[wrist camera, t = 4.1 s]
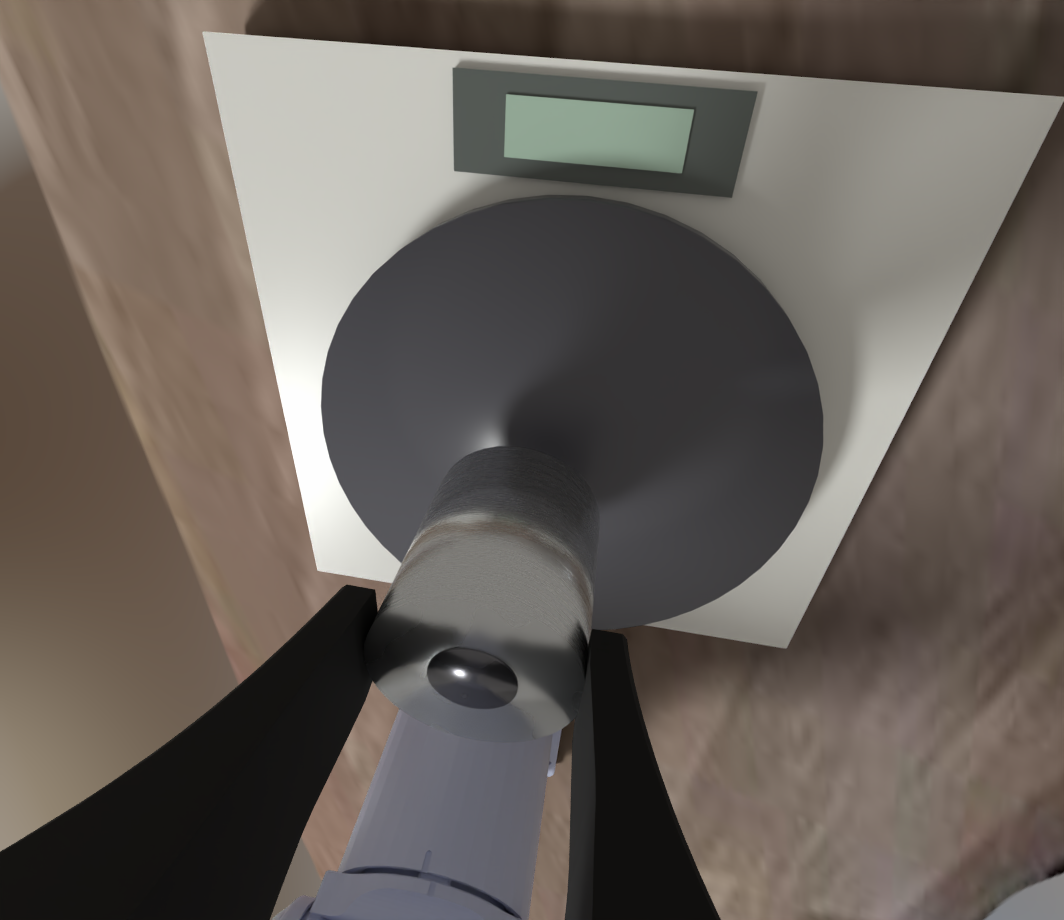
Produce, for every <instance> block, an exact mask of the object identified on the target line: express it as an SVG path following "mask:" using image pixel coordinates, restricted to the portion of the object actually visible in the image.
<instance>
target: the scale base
mask: <svg viewBox="0 0 1064 920" xmlns="http://www.w3.org/2000/svg"><path fill="white" fill-rule="evenodd" d="M202 32H203V31H202ZM203 37H204V42H205V46H206V51H207V56H208V60H209V65H210V70H211V74H212V79H213V84H214V88H215V93H216V98H217V102H218V107H219V112H220V116H221V121H222V126H223V130H224V135H225V140H226V145H227V149H228V154H229V159H230V163H231V168H232V173H233V177H234V182H235V187H236V191H237V196H238V201H239V205H240V210H241V215H242V219H243V224H244V229H245V233H246V238H247V243H248V247H249V252H250V257H251V261H252V266H253V271H254V275H255V280H256V285H257V290H258V294H259V299H260V304H261V308H262V313H263V318H264V322H265V327H266V332H267V336H268V341H269V346H270V350H271V355H272V360H273V364H274V369H275V374H276V378H277V383H278V388H279V392H280V397H281V402H282V406H283V411H284V416H285V420H286V425H287V430H288V435H289V439H290V444H291V449H292V453H293V458H294V463H295V467H296V472H297V477H298V481H299V486H300V491H301V495H302V500H303V505H304V509H305V514H306V519H307V523H308V528H309V533H310V537H311V542H312V547H313V551H314V556H315V561H316V565H317V570H318V571H323V572H329V573H335V574H341V575H347V576H353V577H359V578H365V579H371V580H377V581H383V582H389V583H393V581H394V578H395V576H396V574H397V572H398V570H399V568H400V566H401V564H402V563H401V562H399V561H398V560H397V559H396V558H395V557H394V556H393V555H392V554H391V553H390V552H389V551H388V550H387V549H386V548H384V547H383V546H382V544H381V543H380V542H379V541H378V540H377V539H376V538H375V536H374V535H373V534H372V533H371V532H370V531H369V530H368V528H367V527H366V526H365V525H364V523H363V522H362V520H361V519H360V517H359V516H358V514H357V513H356V512H355V510H354V509H353V507H352V506H351V504H350V502H349V500H348V499H347V497H346V495H345V493H344V491H343V489H342V487H341V486H340V484H339V481H338V479H337V476H336V474H335V471H334V469H333V466H332V463H331V461H330V458H329V454H328V450H327V446H326V442H325V437H324V433H323V424H322V414H321V391H322V377H323V372H324V367H325V362H326V358H327V353H328V349H329V347H330V344H331V342H332V339H333V336H334V334H335V331H336V328H337V326H338V323H339V322H340V320H341V318H342V316H343V315H344V313H345V311H346V310H347V308H348V306H349V304H350V303H351V301H352V299H353V297H354V296H355V295H356V294H357V293H358V291H359V290H360V289H361V288H362V286H363V285H364V284H365V283H366V282H367V280H368V279H369V278H370V277H371V275H372V274H373V273H374V272H375V271H376V270H377V269H379V268H380V267H381V266H382V265H383V264H384V263H385V262H386V261H388V260H389V259H390V258H391V257H392V256H393V255H394V254H396V253H397V252H398V251H399V250H400V249H402V248H403V247H404V246H406V245H407V244H409V243H410V242H411V241H413V240H415V239H416V238H418V237H419V236H421V235H422V234H424V233H426V232H427V231H429V230H430V229H432V228H433V227H435V226H437V225H438V224H440V223H442V222H444V221H447V220H449V219H451V218H454V217H456V216H458V215H460V214H463V213H465V212H467V211H469V210H472V209H475V208H479V207H482V206H486V205H490V204H493V203H497V202H501V201H504V200H508V199H515V198H524V197H532V196H541V195H580V196H592V197H598V198H604V199H610V200H616V201H622V202H628V203H631V204H634V205H637V206H640V207H643V208H646V209H649V210H652V211H655V212H659V213H662V214H665V215H667V216H669V217H671V218H673V219H675V220H677V221H679V222H681V223H683V224H685V225H688V226H690V227H692V228H694V229H696V230H698V231H700V232H702V233H703V234H705V235H706V236H708V237H709V238H710V239H712V240H713V241H715V242H716V243H718V244H719V245H721V246H722V247H723V248H725V249H726V250H728V251H729V252H731V253H732V254H734V255H735V256H736V257H737V258H738V259H739V260H740V261H741V262H742V263H743V264H744V265H745V266H746V267H747V268H748V269H750V270H751V271H752V272H753V273H754V274H755V275H756V276H757V277H758V278H759V279H760V280H761V281H762V282H763V284H764V285H765V286H766V287H767V289H768V290H769V291H770V293H771V294H772V295H773V297H774V298H775V299H776V300H777V302H778V303H779V304H780V306H781V307H782V308H783V310H784V311H785V313H786V314H787V316H788V318H789V319H790V321H791V323H792V325H793V327H794V328H795V330H796V332H797V334H798V336H799V338H800V339H801V341H802V343H803V345H804V347H805V349H806V350H807V353H808V356H809V358H810V361H811V364H812V367H813V370H814V373H815V376H816V379H817V382H818V386H819V392H820V398H821V404H822V410H823V450H822V456H821V462H820V467H819V473H818V477H817V480H816V483H815V486H814V488H813V491H812V494H811V497H810V500H809V503H808V505H807V506H806V508H805V510H804V512H803V514H802V516H801V518H800V520H799V521H798V523H797V525H796V527H795V528H794V530H793V531H792V532H791V534H790V535H789V537H788V538H787V539H786V541H785V542H784V543H783V545H782V546H781V547H780V549H779V550H778V551H777V552H776V553H775V554H774V555H773V556H772V557H771V558H770V559H769V560H768V561H767V562H766V563H765V564H764V565H763V566H762V567H761V568H760V569H759V570H758V571H757V572H755V573H754V574H753V575H752V576H750V577H749V578H748V579H747V580H745V581H744V582H743V583H742V584H740V585H739V586H737V587H736V588H734V589H732V590H731V591H729V592H728V593H726V594H724V595H723V596H721V597H719V598H718V599H716V600H714V601H712V602H710V603H708V604H706V605H703V606H701V607H699V608H697V609H695V610H693V611H690V612H687V613H684V614H681V615H679V616H676V617H673V618H670V619H667V620H663V621H658V622H654V623H650V624H646V625H647V626H653V627H659V628H665V629H671V630H677V631H683V632H689V633H695V634H701V635H707V636H713V637H719V638H725V639H731V640H737V641H743V642H749V643H755V644H761V645H767V646H773V647H779V648H785V649H787V647H788V645H789V643H790V641H791V639H792V637H793V635H794V633H795V631H796V629H797V627H798V625H799V623H800V621H801V619H802V617H803V615H804V613H805V611H806V609H807V607H808V605H809V603H810V601H811V599H812V597H813V595H814V593H815V591H816V589H817V587H818V585H819V583H820V582H821V580H822V578H823V576H824V574H825V572H826V570H827V568H828V566H829V564H830V562H831V560H832V558H833V556H834V554H835V552H836V550H837V548H838V546H839V544H840V542H841V540H842V538H843V536H844V534H845V532H846V530H847V528H848V526H849V524H850V522H851V520H852V518H853V516H854V514H855V512H856V510H857V508H858V506H859V504H860V503H861V501H862V499H863V497H864V495H865V493H866V491H867V489H868V487H869V485H870V483H871V481H872V479H873V477H874V475H875V473H876V471H877V469H878V467H879V465H880V463H881V461H882V459H883V457H884V455H885V453H886V451H887V449H888V447H889V445H890V443H891V441H892V439H893V437H894V435H895V433H896V431H897V429H898V427H899V425H900V424H901V422H902V420H903V418H904V416H905V414H906V412H907V410H908V408H909V406H910V404H911V402H912V400H913V398H914V396H915V394H916V392H917V390H918V388H919V386H920V384H921V382H922V380H923V378H924V376H925V374H926V372H927V370H928V368H929V366H930V364H931V362H932V360H933V358H934V356H935V354H936V352H937V350H938V348H939V346H940V345H941V343H942V341H943V339H944V337H945V335H946V333H947V331H948V329H949V327H950V325H951V323H952V321H953V319H954V317H955V315H956V313H957V311H958V309H959V307H960V305H961V303H962V301H963V299H964V297H965V295H966V293H967V291H968V289H969V287H970V285H971V283H972V281H973V279H974V277H975V275H976V273H977V271H978V269H979V267H980V266H981V264H982V262H983V260H984V258H985V256H986V254H987V252H988V250H989V248H990V246H991V244H992V242H993V240H994V238H995V236H996V234H997V232H998V230H999V228H1000V226H1001V224H1002V222H1003V220H1004V218H1005V216H1006V214H1007V212H1008V210H1009V208H1010V206H1011V204H1012V202H1013V200H1014V198H1015V196H1016V194H1017V192H1018V190H1019V188H1020V187H1021V185H1022V183H1023V181H1024V179H1025V177H1026V175H1027V173H1028V171H1029V169H1030V167H1031V165H1032V163H1033V161H1034V159H1035V157H1036V155H1037V153H1038V151H1039V149H1040V147H1041V145H1042V143H1043V141H1044V139H1045V137H1046V135H1047V133H1048V131H1049V129H1050V127H1051V125H1052V123H1053V121H1054V119H1055V117H1056V115H1057V113H1058V111H1059V109H1060V108H1061V106H1062V104H1063V102H1064V97H1060V96H1047V95H1034V94H1020V93H1007V92H994V91H981V90H968V89H954V88H941V87H928V86H915V85H902V84H888V83H875V82H862V81H849V80H836V79H823V78H809V77H796V76H783V75H770V74H757V73H743V72H730V71H717V70H704V69H691V68H677V67H664V66H651V65H638V64H625V63H612V62H598V61H585V60H572V59H559V58H546V57H532V56H519V55H506V54H493V53H480V52H466V51H453V50H440V49H427V48H414V47H400V46H387V45H374V44H361V43H348V42H335V41H321V40H308V39H295V38H282V37H269V36H255V35H242V34H229V33H216V32H203Z"/></svg>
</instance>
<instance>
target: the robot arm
mask: <svg viewBox="0 0 1064 920" xmlns="http://www.w3.org/2000/svg"><path fill="white" fill-rule="evenodd" d="M377 613H378V611H377V602H376V593H375V590H374V589H368V588H363V587H357V586H352V585H345V586H344V587H342V588H341V589H340V590H339V591H338V592H337V593H336V594H335V595H334V596H333V597H332V598H331V599H330V600H329V601H328V602H327V603H326V604H325V605H324V606H323V607H322V608H321V609H320V610H319V611H318V612H317V613H316V614H315V615H314V616H313V617H312V618H311V619H310V620H309V621H308V622H307V623H306V624H305V625H304V626H303V627H302V628H301V629H300V630H299V631H298V632H297V633H296V634H295V635H294V636H293V637H292V638H291V639H290V640H289V641H287V642H286V643H285V644H284V645H283V646H282V647H281V648H280V649H279V650H278V651H277V652H276V653H274V654H273V655H272V656H271V657H270V658H269V659H268V660H267V661H266V662H265V663H264V664H263V665H261V666H260V667H259V668H258V669H257V670H256V671H255V672H254V673H252V674H251V675H250V676H249V677H248V678H247V679H246V680H244V681H243V682H242V683H241V684H240V685H238V686H237V687H236V688H235V689H234V690H233V691H231V692H230V693H229V694H228V695H227V696H226V697H224V698H223V699H222V700H221V701H220V702H218V703H217V704H216V705H215V706H214V707H213V708H211V709H210V710H209V711H208V712H206V713H205V714H204V715H203V716H201V717H200V718H199V719H197V720H196V721H195V722H194V723H192V724H191V725H190V726H188V727H187V728H186V729H185V730H183V731H182V732H181V733H179V734H178V735H177V736H175V737H174V738H173V739H171V740H170V741H169V742H167V743H166V744H165V745H163V746H162V747H161V748H159V749H158V750H157V751H155V752H154V753H152V754H151V755H150V756H148V757H147V758H145V759H144V760H142V761H141V762H140V763H138V764H137V765H135V766H134V767H132V768H131V769H130V770H128V771H127V772H125V773H124V774H123V775H121V776H120V777H118V778H117V779H115V780H114V781H112V782H111V783H109V784H108V785H106V786H105V787H103V788H102V789H100V790H99V791H97V792H96V793H94V794H93V795H91V796H90V797H88V798H87V799H85V800H84V801H82V802H81V803H79V804H77V805H76V806H74V807H72V808H71V809H69V810H68V811H66V812H64V813H63V814H61V815H60V816H58V817H56V818H55V819H53V820H51V821H50V822H48V823H47V824H45V825H43V826H42V827H40V828H38V829H37V830H35V831H34V832H32V833H30V834H29V835H27V836H26V837H24V838H22V839H21V840H19V841H18V842H16V843H14V844H12V845H11V846H9V847H7V848H6V849H4V850H2V851H1V852H0V920H270V917H271V914H272V912H273V909H274V906H275V904H276V901H277V898H278V895H279V893H280V890H281V887H282V884H283V882H284V879H285V876H286V874H287V871H288V869H289V866H290V864H291V861H292V858H293V856H294V853H295V851H296V848H297V846H298V843H299V840H300V838H301V835H302V833H303V831H304V828H305V826H306V824H307V822H308V819H309V817H310V815H311V812H312V810H313V808H314V806H315V804H316V802H317V800H318V798H319V796H320V794H321V792H322V789H323V787H324V785H325V783H326V781H327V779H328V777H329V775H330V773H331V771H332V769H333V767H334V765H335V763H336V761H337V759H338V756H339V754H340V752H341V750H342V748H343V746H344V744H345V742H346V740H347V738H348V736H349V734H350V732H351V730H352V727H353V725H354V723H355V721H356V719H357V717H358V715H359V713H360V711H361V709H362V706H363V704H364V702H365V700H366V697H367V694H368V692H369V689H370V686H371V683H372V681H373V680H372V678H371V676H370V674H369V672H368V670H367V667H366V664H365V660H364V643H365V640H366V637H367V634H368V632H369V630H370V628H371V626H372V624H373V622H374V620H375V618H376V615H377ZM561 730H562V729H561ZM561 730H559V731H557V732H555V733H553V734H550V735H548V736H545V737H542V738H538V739H534V740H529V741H522V742H507V743H499V742H486V741H478V740H472V739H468V738H463V737H459V736H456V735H452V734H449V733H446V732H443V731H440V730H437V729H435V728H433V727H431V726H428V725H426V724H424V723H422V722H420V721H418V720H416V719H415V718H413V717H411V716H410V715H408V714H407V713H405V712H403V711H402V710H401V709H399V711H398V714H397V716H396V719H395V722H394V724H393V727H392V729H391V732H390V735H389V737H388V740H387V743H386V745H385V748H384V750H383V753H382V756H381V758H380V761H379V764H378V766H377V769H376V772H375V774H374V777H373V779H372V782H371V785H370V787H369V790H368V793H367V795H366V798H365V801H364V803H363V806H362V808H361V811H360V814H359V816H358V819H357V822H356V824H355V827H354V829H353V832H352V835H351V837H350V840H349V843H348V845H347V848H346V851H345V853H344V856H343V858H342V861H341V864H340V866H339V869H338V872H336V871H331V870H328V871H326V873H325V875H324V878H323V880H322V883H321V885H320V888H319V890H318V893H317V896H316V898H313V897H309V896H306V895H304V896H300V897H298V898H297V899H295V900H294V901H293V902H292V903H291V904H290V905H289V906H288V907H287V908H285V909H284V910H282V911H281V912H280V913H278V914H277V915H276V916H275V917H274V918H273V919H272V920H528V919H529V911H530V904H531V896H532V889H533V881H534V873H535V866H536V858H537V851H538V843H539V835H540V828H541V820H542V813H543V805H544V798H545V790H546V782H547V777H549V776H552V775H553V774H554V771H555V766H556V760H557V754H558V748H559V742H560V736H561ZM565 920H721V919H720V917H719V915H718V913H717V911H716V909H715V906H714V904H713V902H712V900H711V898H710V895H709V893H708V891H707V889H706V886H705V884H704V882H703V880H702V878H701V875H700V873H699V871H698V869H697V866H696V864H695V861H694V859H693V857H692V854H691V852H690V850H689V847H688V845H687V843H686V840H685V838H684V835H683V833H682V830H681V828H680V825H679V823H678V820H677V817H676V815H675V812H674V810H673V807H672V804H671V801H670V799H669V796H668V793H667V790H666V788H665V785H664V782H663V779H662V776H661V773H660V770H659V767H658V764H657V761H656V758H655V755H654V752H653V749H652V746H651V742H650V739H649V736H648V732H647V729H646V726H645V722H644V719H643V715H642V712H641V708H640V704H639V700H638V696H637V692H636V688H635V684H634V679H633V674H632V670H631V664H630V659H629V652H628V645H627V639H626V638H625V637H624V635H623V634H618V633H612V632H607V631H601V630H596V629H592V630H591V635H590V639H589V644H588V652H587V664H586V675H585V683H584V688H583V692H582V697H581V701H580V706H579V710H578V715H577V716H576V717H575V723H574V732H573V741H572V774H571V813H570V853H569V877H568V893H567V903H566V913H565Z"/></svg>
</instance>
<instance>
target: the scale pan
mask: <svg viewBox="0 0 1064 920" xmlns="http://www.w3.org/2000/svg"><path fill="white" fill-rule="evenodd" d="M321 414H322V424H323V433H324V437H325V442H326V446H327V450H328V454H329V458H330V461H331V463H332V466H333V469H334V471H335V474H336V476H337V479H338V481H339V484H340V486H341V487H342V489H343V491H344V493H345V495H346V497H347V499H348V500H349V502H350V504H351V506H352V507H353V509H354V510H355V512H356V513H357V514H358V516H359V517H360V519H361V520H362V522H363V523H364V525H365V526H366V527H367V528H368V530H369V531H370V532H371V533H372V534H373V535H374V536H375V538H376V539H377V540H378V541H379V542H380V543H381V544H382V546H383V547H384V548H386V549H387V550H388V551H389V552H390V553H391V554H392V555H393V556H394V557H395V558H396V559H397V560H398V561H399V562H401V563H402V562H403V560H404V558H405V556H406V554H407V552H408V550H409V548H410V546H411V543H412V541H413V539H414V537H415V535H416V533H417V531H418V529H419V527H420V525H421V523H422V521H423V519H424V517H425V515H426V513H427V511H428V508H429V506H430V504H431V502H432V500H433V498H434V496H435V494H436V492H437V490H438V488H439V486H440V484H441V482H442V480H443V478H444V476H445V475H446V473H447V472H448V471H449V469H450V468H451V467H452V466H453V465H454V464H455V463H457V462H458V461H459V460H460V459H462V458H464V457H465V456H467V455H469V454H471V453H473V452H475V451H479V450H482V449H485V448H490V447H496V446H519V447H525V448H531V449H535V450H538V451H542V452H544V453H547V454H549V455H552V456H554V457H556V458H557V459H559V460H561V461H563V462H564V463H566V464H567V465H569V466H570V467H572V468H573V469H574V470H575V471H576V472H577V473H578V474H580V475H581V477H582V478H583V479H584V480H585V481H586V482H587V484H588V485H589V487H590V488H591V490H592V491H593V493H594V496H595V498H596V500H597V503H598V507H599V512H600V530H599V542H598V554H597V565H596V577H595V589H594V601H593V613H592V625H591V630H592V629H596V630H608V629H621V628H628V627H635V626H642V625H646V624H650V623H654V622H658V621H663V620H667V619H670V618H673V617H676V616H679V615H681V614H684V613H687V612H690V611H693V610H695V609H697V608H699V607H701V606H703V605H706V604H708V603H710V602H712V601H714V600H716V599H718V598H719V597H721V596H723V595H724V594H726V593H728V592H729V591H731V590H732V589H734V588H736V587H737V586H739V585H740V584H742V583H743V582H744V581H745V580H747V579H748V578H749V577H750V576H752V575H753V574H754V573H755V572H757V571H758V570H759V569H760V568H761V567H762V566H763V565H764V564H765V563H766V562H767V561H768V560H769V559H770V558H771V557H772V556H773V555H774V554H775V553H776V552H777V551H778V550H779V549H780V547H781V546H782V545H783V543H784V542H785V541H786V539H787V538H788V537H789V535H790V534H791V532H792V531H793V530H794V528H795V527H796V525H797V523H798V521H799V520H800V518H801V516H802V514H803V512H804V510H805V508H806V506H807V505H808V503H809V500H810V497H811V494H812V491H813V488H814V486H815V483H816V480H817V477H818V473H819V467H820V462H821V456H822V450H823V410H822V404H821V398H820V392H819V386H818V382H817V379H816V376H815V373H814V370H813V367H812V364H811V361H810V358H809V356H808V353H807V350H806V349H805V347H804V345H803V343H802V341H801V339H800V338H799V336H798V334H797V332H796V330H795V328H794V327H793V325H792V323H791V321H790V319H789V318H788V316H787V314H786V313H785V311H784V310H783V308H782V307H781V306H780V304H779V303H778V302H777V300H776V299H775V298H774V297H773V295H772V294H771V293H770V291H769V290H768V289H767V287H766V286H765V285H764V284H763V282H762V281H761V280H760V279H759V278H758V277H757V276H756V275H755V274H754V273H753V272H752V271H751V270H750V269H748V268H747V267H746V266H745V265H744V264H743V263H742V262H741V261H740V260H739V259H738V258H737V257H736V256H735V255H734V254H732V253H731V252H729V251H728V250H726V249H725V248H723V247H722V246H721V245H719V244H718V243H716V242H715V241H713V240H712V239H710V238H709V237H708V236H706V235H705V234H703V233H702V232H700V231H698V230H696V229H694V228H692V227H690V226H688V225H685V224H683V223H681V222H679V221H677V220H675V219H673V218H671V217H669V216H667V215H665V214H662V213H659V212H655V211H652V210H649V209H646V208H643V207H640V206H637V205H634V204H631V203H628V202H622V201H616V200H610V199H604V198H598V197H592V196H580V195H541V196H532V197H524V198H515V199H508V200H504V201H501V202H497V203H493V204H490V205H486V206H482V207H479V208H475V209H472V210H469V211H467V212H465V213H463V214H460V215H458V216H456V217H454V218H451V219H449V220H447V221H444V222H442V223H440V224H438V225H437V226H435V227H433V228H432V229H430V230H429V231H427V232H426V233H424V234H422V235H421V236H419V237H418V238H416V239H415V240H413V241H411V242H410V243H409V244H407V245H406V246H404V247H403V248H402V249H400V250H399V251H398V252H397V253H396V254H394V255H393V256H392V257H391V258H390V259H389V260H388V261H386V262H385V263H384V264H383V265H382V266H381V267H380V268H379V269H377V270H376V271H375V272H374V273H373V274H372V275H371V277H370V278H369V279H368V280H367V282H366V283H365V284H364V285H363V286H362V288H361V289H360V290H359V291H358V293H357V294H356V295H355V296H354V297H353V299H352V301H351V303H350V304H349V306H348V308H347V310H346V311H345V313H344V315H343V316H342V318H341V320H340V322H339V323H338V326H337V328H336V331H335V334H334V336H333V339H332V342H331V344H330V347H329V349H328V353H327V358H326V362H325V367H324V372H323V377H322V391H321Z"/></svg>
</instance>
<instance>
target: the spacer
mask: <svg viewBox="0 0 1064 920" xmlns="http://www.w3.org/2000/svg"><path fill="white" fill-rule="evenodd" d="M599 530H600V512H599V507H598V503H597V500H596V498H595V496H594V493H593V491H592V490H591V488H590V487H589V485H588V484H587V482H586V481H585V480H584V479H583V478H582V477H581V475H580V474H578V473H577V472H576V471H575V470H574V469H573V468H572V467H570V466H569V465H567V464H566V463H564V462H563V461H561V460H559V459H557V458H556V457H554V456H552V455H549V454H547V453H544V452H542V451H538V450H535V449H531V448H525V447H519V446H496V447H490V448H485V449H482V450H479V451H475V452H473V453H471V454H469V455H467V456H465V457H464V458H462V459H460V460H459V461H458V462H457V463H455V464H454V465H453V466H452V467H451V468H450V469H449V471H448V472H447V473H446V475H445V476H444V478H443V480H442V482H441V484H440V486H439V488H438V490H437V492H436V494H435V496H434V498H433V500H432V502H431V504H430V506H429V508H428V511H427V513H426V515H425V517H424V519H423V521H422V523H421V525H420V527H419V529H418V531H417V533H416V535H415V537H414V539H413V541H412V543H411V546H410V548H409V550H408V552H407V554H406V556H405V558H404V560H403V562H402V564H401V566H400V568H399V570H398V572H397V574H396V576H395V578H394V581H393V583H392V585H391V587H390V589H389V591H388V593H387V595H386V597H385V599H384V601H383V603H382V605H381V607H380V609H379V611H378V613H377V615H376V618H375V620H374V622H373V624H372V626H371V628H370V630H369V632H368V634H367V637H366V640H365V643H364V660H365V664H366V667H367V670H368V672H369V674H370V676H371V678H372V680H373V682H374V683H375V684H376V686H377V687H378V689H379V690H380V691H381V692H382V693H383V694H384V695H385V697H387V698H388V699H389V700H390V701H391V702H392V703H393V704H394V705H396V706H397V707H398V708H399V709H401V710H402V711H403V712H405V713H407V714H408V715H410V716H411V717H413V718H415V719H416V720H418V721H420V722H422V723H424V724H426V725H428V726H431V727H433V728H435V729H437V730H440V731H443V732H446V733H449V734H452V735H456V736H459V737H463V738H468V739H472V740H478V741H486V742H499V743H507V742H522V741H529V740H534V739H538V738H542V737H545V736H548V735H550V734H553V733H555V732H557V731H559V730H561V729H562V728H564V727H565V726H567V725H568V724H569V723H570V722H571V721H573V720H574V718H575V717H576V716H577V715H578V710H579V706H580V701H581V697H582V692H583V688H584V683H585V675H586V664H587V652H588V644H589V639H590V635H591V625H592V613H593V601H594V589H595V577H596V565H597V554H598V542H599Z"/></svg>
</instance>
